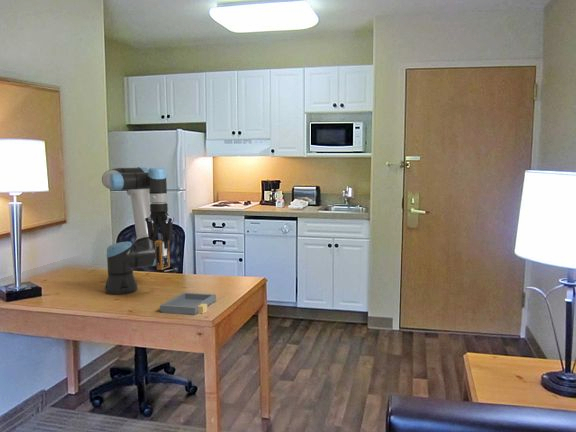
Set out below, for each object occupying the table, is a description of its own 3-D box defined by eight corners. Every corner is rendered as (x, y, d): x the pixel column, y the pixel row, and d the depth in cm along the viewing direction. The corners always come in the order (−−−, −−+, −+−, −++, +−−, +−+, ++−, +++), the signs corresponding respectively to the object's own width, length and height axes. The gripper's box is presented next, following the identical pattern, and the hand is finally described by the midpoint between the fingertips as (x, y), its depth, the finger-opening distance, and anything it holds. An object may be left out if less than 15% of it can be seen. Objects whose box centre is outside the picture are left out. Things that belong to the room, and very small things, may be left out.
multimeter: (172, 272, 220) (170, 226, 218) (151, 271, 223) (149, 226, 221) (188, 266, 234) (186, 222, 232) (169, 265, 237) (167, 222, 235)
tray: (160, 312, 213) (159, 305, 213) (183, 298, 233) (183, 292, 233) (200, 315, 208) (200, 308, 208) (221, 301, 228) (221, 294, 228)
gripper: (138, 203, 224) (140, 256, 227) (170, 203, 220) (172, 257, 222) (147, 202, 231) (150, 253, 234) (179, 202, 227) (181, 254, 229)
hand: (161, 255), depth 228 cm, fingers closed on multimeter, 3 cm apart
